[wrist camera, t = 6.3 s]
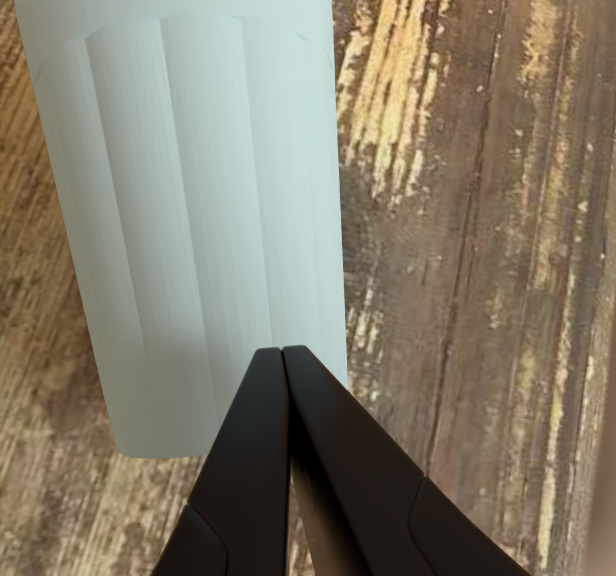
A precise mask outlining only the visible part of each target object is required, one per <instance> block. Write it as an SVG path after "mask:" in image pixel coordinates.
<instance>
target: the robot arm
mask: <svg viewBox="0 0 616 576" xmlns="http://www.w3.org/2000/svg"><path fill="white" fill-rule="evenodd" d="M291 473H292V479H293V483H294V488H295V492H296V496H297V500H298V505H299V509H300V513H301V517H302V521H303V525H304V529H305V533H306V538H307V542H308V546H309V550H310V554H311V558H312V562H313V566H314V571H315V575H316V576H531V575H530V574H529V573H528V572H527V571H526V570H524V569H523V568H522V567H521V566H520V565H519V564H518V563H516V562H515V561H514V560H513V559H512V558H511V557H510V556H508V555H507V554H506V553H505V552H504V551H503V550H502V549H500V548H499V547H498V546H497V545H496V544H495V543H494V542H493V541H492V540H491V539H490V538H488V537H487V536H486V535H485V534H484V533H483V532H482V531H481V530H480V529H479V528H478V527H476V526H475V525H474V524H473V523H472V522H471V521H470V520H469V519H468V518H467V517H466V516H465V515H464V514H463V513H462V512H461V511H460V510H459V509H458V508H457V507H456V506H455V505H454V504H453V503H452V502H451V501H450V500H449V499H448V498H447V497H446V496H445V495H444V494H443V493H442V492H441V490H440V489H439V488H438V487H437V486H436V485H435V484H434V483H433V482H432V481H431V479H430V478H429V477H427V476H425V477H424V472H423V471H422V470H421V469H420V468H419V467H418V466H417V465H416V464H415V463H414V461H413V460H412V459H411V458H410V457H409V456H408V455H407V454H406V453H405V452H404V451H403V450H402V448H401V447H400V446H399V445H398V444H397V443H396V442H395V441H394V440H393V439H392V438H391V437H390V436H389V434H388V433H387V432H386V431H385V430H384V429H383V428H382V427H381V426H380V425H379V424H378V423H377V422H376V420H375V419H374V418H373V417H372V416H371V415H370V414H369V413H368V412H367V411H366V410H365V409H364V408H363V406H362V405H361V404H360V403H359V402H358V401H357V400H356V399H355V398H354V397H353V396H352V395H351V393H350V392H349V391H348V390H347V389H346V388H345V387H344V386H343V385H342V384H341V383H340V382H339V381H338V379H337V378H336V377H335V376H334V375H333V374H332V373H331V372H330V371H329V370H328V369H327V368H326V367H325V365H324V364H323V363H322V362H321V361H320V360H319V359H318V358H317V357H316V356H315V355H314V354H313V352H312V351H311V350H310V349H309V348H308V347H307V346H305V345H291V346H284V347H283V348H282V349H280V348H279V347H267V348H258V349H257V350H256V351H255V353H254V355H253V357H252V359H251V361H250V364H249V366H248V368H247V370H246V372H245V375H244V377H243V379H242V381H241V383H240V386H239V388H238V390H237V392H236V394H235V397H234V399H233V401H232V403H231V405H230V408H229V410H228V412H227V414H226V416H225V419H224V421H223V423H222V425H221V427H220V430H219V432H218V434H217V436H216V438H215V441H214V443H213V445H212V447H211V449H210V452H209V454H208V456H207V458H206V460H205V463H204V465H203V467H202V469H201V471H200V474H199V476H198V478H197V480H196V482H195V485H194V487H193V489H192V491H191V493H190V496H189V498H188V500H187V505H185V506H184V508H183V510H182V512H181V515H180V517H179V519H178V521H177V523H176V526H175V528H174V530H173V532H172V534H171V536H170V538H169V540H168V542H167V544H166V546H165V548H164V550H163V552H162V554H161V556H160V558H159V560H158V562H157V564H156V565H155V567H154V569H153V571H152V572H151V574H150V576H289V573H290V508H291Z"/></svg>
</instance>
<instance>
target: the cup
mask: <svg viewBox="0 0 616 576" xmlns="http://www.w3.org/2000/svg"><path fill="white" fill-rule="evenodd" d="M14 4H15V12H16V17H17V22H18V26H19V30H20V35H21V39H22V43H23V48H24V52H25V56H26V61H27V65H28V69H29V74H30V78H31V82H32V87H33V91H34V95H35V98H36V102H37V107H38V111H39V115H40V120H41V124H42V129H43V133H44V137H45V142H46V146H47V150H48V155H49V159H50V163H51V168H52V172H53V177H54V181H55V185H56V190H57V194H58V198H59V203H60V207H61V212H62V216H63V220H64V225H65V229H66V233H67V238H68V242H69V247H70V251H71V255H72V260H73V264H74V268H75V273H76V277H77V282H78V286H79V290H80V295H81V299H82V303H83V308H84V312H85V317H86V321H87V325H88V330H89V334H90V338H91V343H92V347H93V352H94V356H95V360H96V365H97V369H98V373H99V378H100V382H101V387H102V391H103V395H104V400H105V404H106V408H107V412H108V416H109V420H110V425H111V428H112V432H113V436H114V440H115V444H116V447H117V449H118V451H119V452H120V453H121V454H123V455H125V456H129V457H132V458H147V459H169V458H180V457H190V456H200V455H208V454H209V452H210V449H211V447H212V445H213V443H214V441H215V438H216V436H217V434H218V432H219V430H220V427H221V425H222V423H223V421H224V419H225V416H226V414H227V412H228V410H229V408H230V405H231V403H232V401H233V399H234V397H235V394H236V392H237V390H238V388H239V386H240V383H241V381H242V379H243V377H244V375H245V372H246V370H247V368H248V366H249V364H250V361H251V359H252V357H253V355H254V353H255V351H256V350H257V349H258V348H267V347H279V348H280V349H282V348H283V347H284V346H291V345H305V346H307V347H308V348H309V349H310V350H311V351H312V352H313V354H314V355H315V356H316V357H317V358H318V359H319V360H320V361H321V362H322V363H323V364H324V365H325V367H326V368H327V369H328V370H329V371H330V372H331V373H332V374H333V375H334V376H335V377H336V378H337V379H338V381H339V382H340V383H341V384H342V385H343V386H344V387H345V388H346V389H347V390H348V379H347V354H346V328H345V304H344V281H343V258H342V235H341V213H340V190H339V167H338V145H337V122H336V100H335V68H334V43H333V20H332V0H14Z"/></svg>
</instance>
